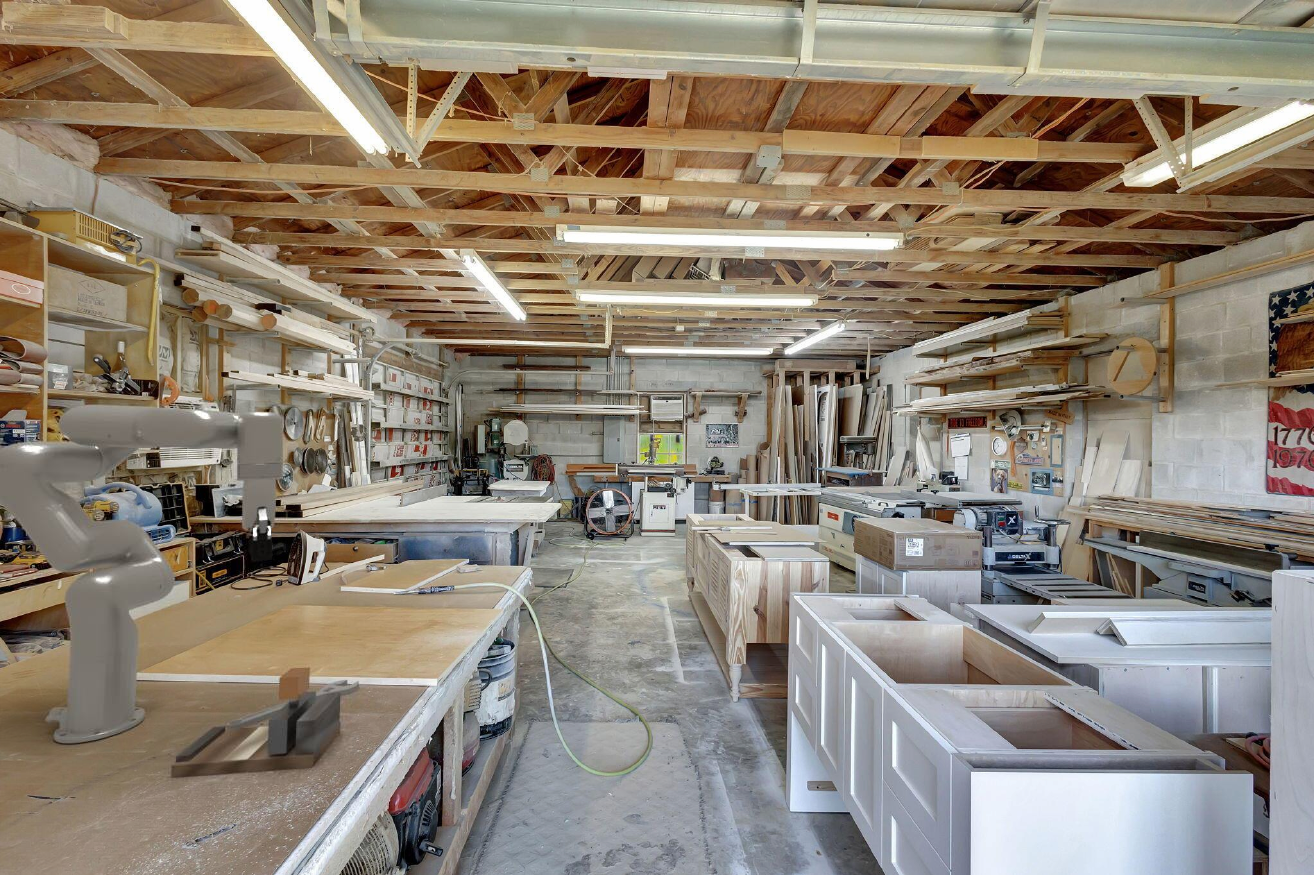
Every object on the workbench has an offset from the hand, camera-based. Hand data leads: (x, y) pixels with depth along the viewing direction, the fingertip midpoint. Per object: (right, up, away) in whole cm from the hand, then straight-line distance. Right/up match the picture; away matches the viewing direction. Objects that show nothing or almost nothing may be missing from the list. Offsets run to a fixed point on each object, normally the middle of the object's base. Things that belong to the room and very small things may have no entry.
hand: (259, 557), depth 109 cm
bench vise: (+8, -34, -10) cm, 36 cm away
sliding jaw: (+13, -32, -9) cm, 35 cm away
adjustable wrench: (+1, -35, +9) cm, 36 cm away
